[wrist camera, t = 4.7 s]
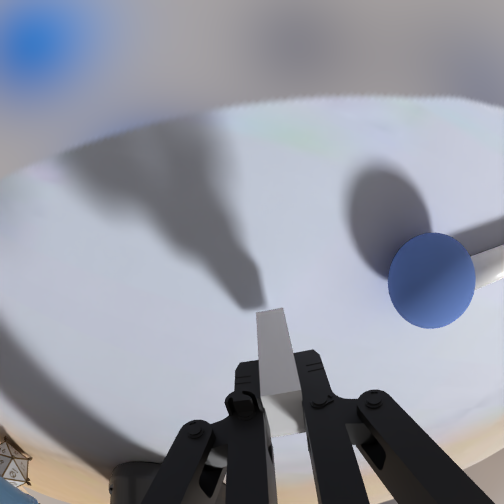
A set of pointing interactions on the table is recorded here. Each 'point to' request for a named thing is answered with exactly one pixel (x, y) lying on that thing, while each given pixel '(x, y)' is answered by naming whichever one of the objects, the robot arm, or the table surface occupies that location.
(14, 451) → the game die
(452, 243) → the ball
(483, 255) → the pin
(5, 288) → the table surface
